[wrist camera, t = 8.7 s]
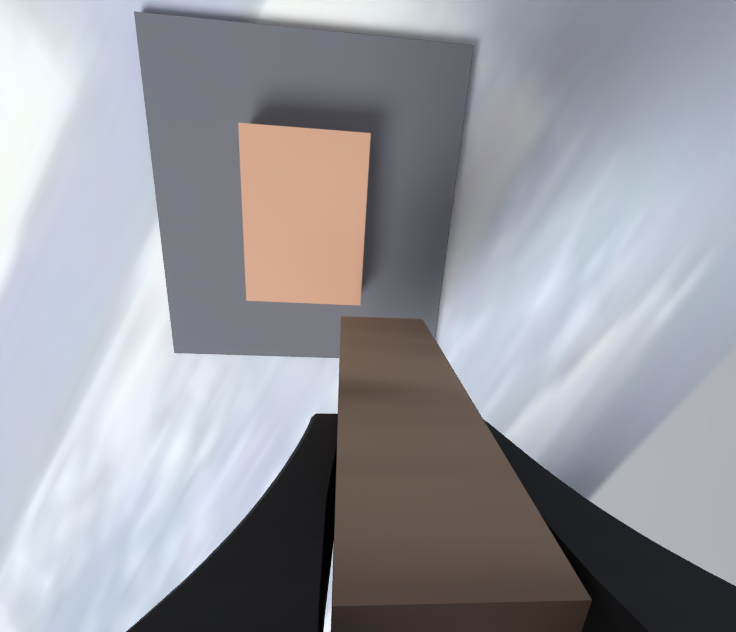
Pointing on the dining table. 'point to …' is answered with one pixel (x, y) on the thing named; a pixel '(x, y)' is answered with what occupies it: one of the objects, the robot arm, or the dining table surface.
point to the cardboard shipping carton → (433, 502)
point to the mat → (305, 110)
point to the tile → (303, 213)
